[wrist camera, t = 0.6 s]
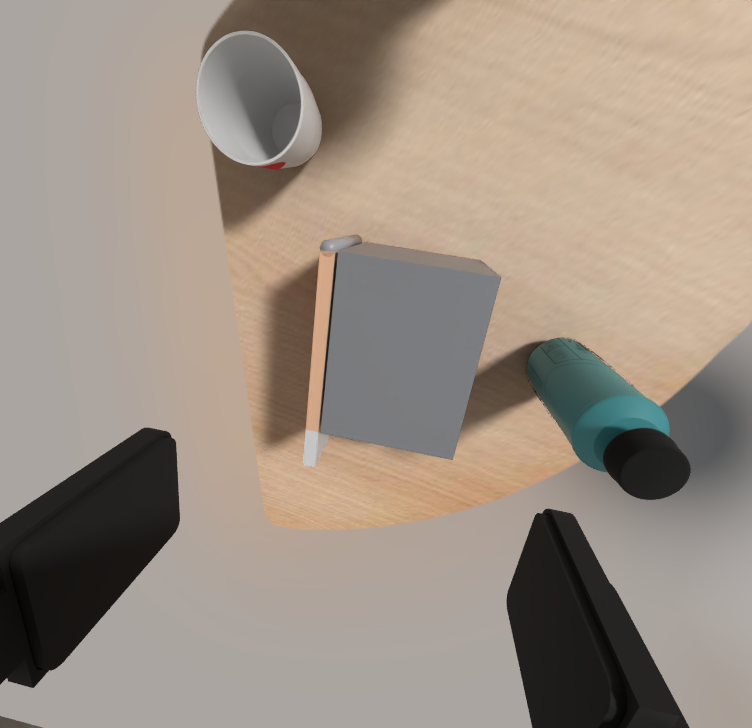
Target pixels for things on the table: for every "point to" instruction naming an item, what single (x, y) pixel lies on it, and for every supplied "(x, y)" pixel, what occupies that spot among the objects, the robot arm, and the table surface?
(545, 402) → the beverage bottle
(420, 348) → the grey smooth box
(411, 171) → the table surface
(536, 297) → the table surface
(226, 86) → the cup
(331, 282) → the door
